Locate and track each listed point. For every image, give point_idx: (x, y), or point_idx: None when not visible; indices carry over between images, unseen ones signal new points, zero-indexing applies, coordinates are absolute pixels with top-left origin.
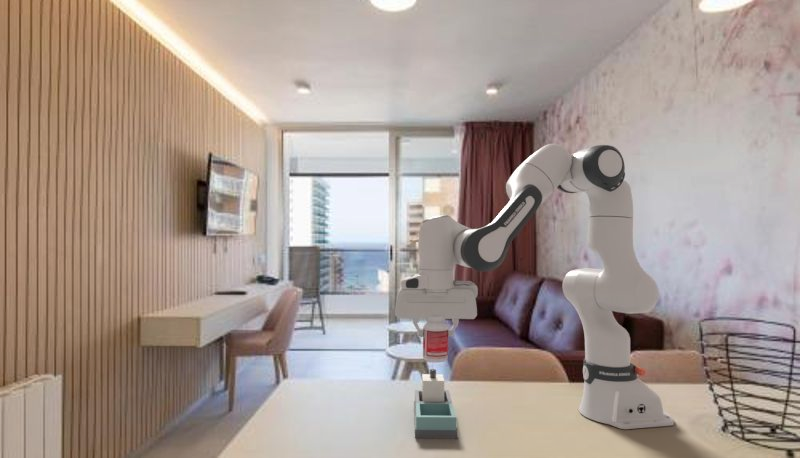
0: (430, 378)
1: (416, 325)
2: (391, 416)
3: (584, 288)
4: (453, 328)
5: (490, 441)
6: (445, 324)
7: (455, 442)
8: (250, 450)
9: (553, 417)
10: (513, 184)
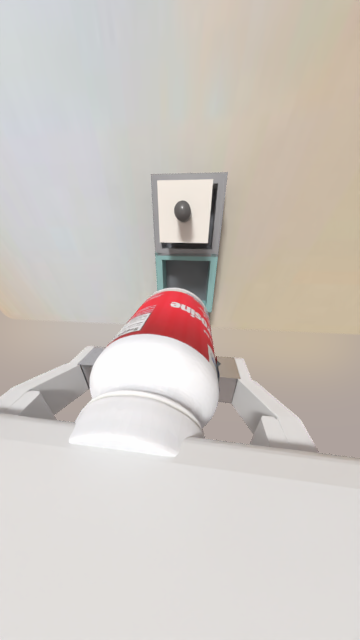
0: (177, 222)
1: (59, 406)
2: (125, 229)
3: None
4: (242, 413)
5: (248, 309)
6: (204, 423)
7: None
8: (19, 317)
9: None
10: None
